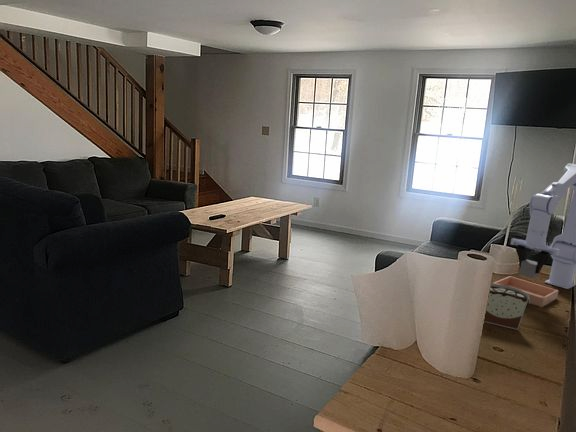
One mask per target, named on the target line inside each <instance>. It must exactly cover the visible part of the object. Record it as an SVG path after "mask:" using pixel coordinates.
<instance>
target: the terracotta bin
mask: <svg viewBox="0 0 576 432" xmlns="http://www.w3.org/2000/svg"><path fill="white" fill-rule="evenodd" d="M492 284H499V285H505V286H510V287H513V288H516V289H519V290H522V291H524V292H525V293H527V294H528V295H529V298H530V304H529V303H528V302H527V304H529V305H533V306H535V307H539V308H543V307H545V306H547V305H549V304H551V303H552V302H554V301H555V300H557V299H558V296H559V289H555V288H552V287H548V286H545V285H542V284H538V283H535V282H532V281H531V282H530V281H528V280H525V279H521V278H518V277H515V276H511V275H509V276H507V277H504V278H502V279H499V280H496V281H494V282H492Z"/></svg>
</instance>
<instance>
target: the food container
mask: <svg viewBox="0 0 576 432" xmlns="http://www.w3.org/2000/svg"><path fill="white" fill-rule="evenodd" d="M490 284H491V287H490V292H489V298H488V303H487V308H486V314H485V320H484V322H483V323H488V324H492V325H497V326H500V327H504V328H509V329H513V330H517V331H518V330H519V328H520V325H521V324H522V323H521V321H522V319H523V317H524V313H525V311H526V307H527V305H528V304H529V305H531V304H530V298H529V295H528V294H527V293H525V292H524V291H522V290H519V289H516V288H513V287H510V286H505V285H499V284H493V283H490ZM527 302H528V303H527Z"/></svg>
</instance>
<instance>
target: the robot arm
mask: <svg viewBox="0 0 576 432" xmlns="http://www.w3.org/2000/svg"><path fill="white" fill-rule="evenodd" d="M569 188H572V190H573V194H572V196H571V201H570V204H569V209H568V212H567V216H566V219H565V222H564V223H565V225H564V227H563V231H562V233H561V234H559V235H556V236H554V238H553V240H552V243H551V244H550V245H546V241H547V237H548V232H549V227H550V222H551V217H552V214H553V213H555V211H556V210H557V207H558V206H559V202H560V201H561V200H562V199H563V198H564V197H565V196H566V195H567V192H568V190H569ZM528 205H529V206H528V207H529V213H528V214H529V216H530V218H529V222H528V228H527V232H526V233H527V234H526V237H525V240H524V239H520V238H519V239H518V238H514V237H513V238H511V239H510V242H509V243H510V245H511V246H517V247H515V251H516V253H517V257H518V264H519V268H518V269H519V270H520V267H521V262H522V261H524V260H527V259H526V258H527V257H528V252H529V249H530V250H534V251H538V254H537V262H538V263H537V267H536V273H537V274H538V273H539V274H540V273H541V270H542V268H543V267H544V265H545V263H546V262H547V260H548V259H549V258H550V257H551V259H552V264H551V269H550V273H549V277H548V279H547V280H545V281H544V283H546V284H548V285H553V286H555V287H559V288H562V289H567V290H569V289H571V288H573V287H575V286H576V285H575V282H574V281H575V277H576V163H570V162H569V163H567V164H566V165H565V166H564V168H563V170H562V176H561V177H560V178H559V180H557V182H556V181H553V182H551V183H550V184H549V185H548V186H547V187H546V188H545V189H544V190H543V191H541V192H540V193H536V194H532V196H531V198H530V201H529V204H528Z"/></svg>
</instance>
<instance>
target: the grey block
mask: <svg viewBox="0 0 576 432" xmlns="http://www.w3.org/2000/svg"><path fill="white" fill-rule="evenodd" d="M537 263H538V261H535V260H530V259H526V260H524V261H522V262H521V267H520V269H519V275H521V276H524V277H528V278H531V279H535V278H537V277H539V276H540V275H539V274H540V273H538V274H537V273H536V267H537Z"/></svg>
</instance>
